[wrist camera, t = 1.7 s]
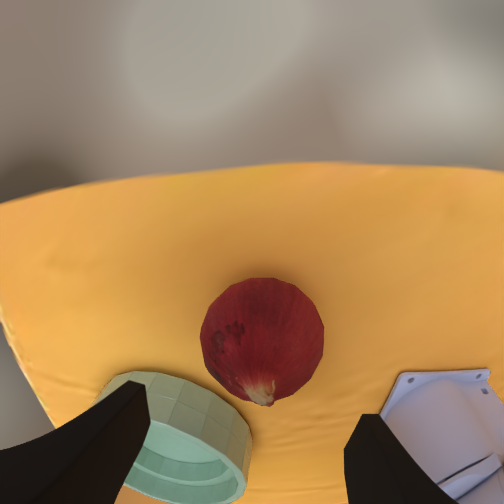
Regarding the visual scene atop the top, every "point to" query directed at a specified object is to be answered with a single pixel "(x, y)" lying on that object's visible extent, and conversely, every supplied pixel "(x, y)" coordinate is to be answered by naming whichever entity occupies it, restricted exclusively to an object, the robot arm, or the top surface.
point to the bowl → (187, 443)
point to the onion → (262, 340)
